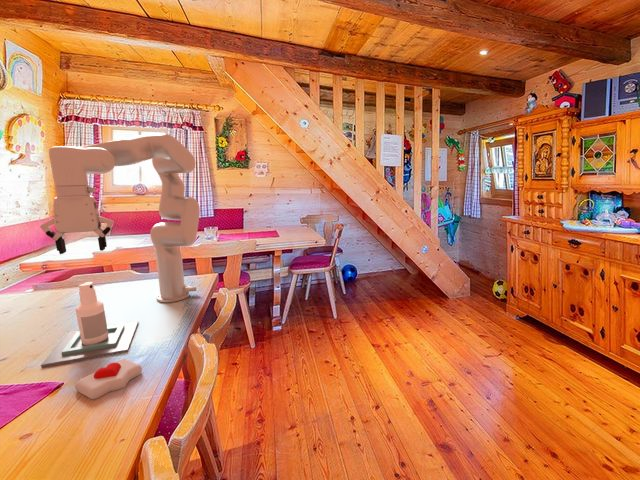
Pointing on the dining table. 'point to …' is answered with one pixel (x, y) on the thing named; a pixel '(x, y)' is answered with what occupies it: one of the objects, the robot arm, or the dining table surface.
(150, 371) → the dining table surface
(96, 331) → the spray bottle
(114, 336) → the dock
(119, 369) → the icon
